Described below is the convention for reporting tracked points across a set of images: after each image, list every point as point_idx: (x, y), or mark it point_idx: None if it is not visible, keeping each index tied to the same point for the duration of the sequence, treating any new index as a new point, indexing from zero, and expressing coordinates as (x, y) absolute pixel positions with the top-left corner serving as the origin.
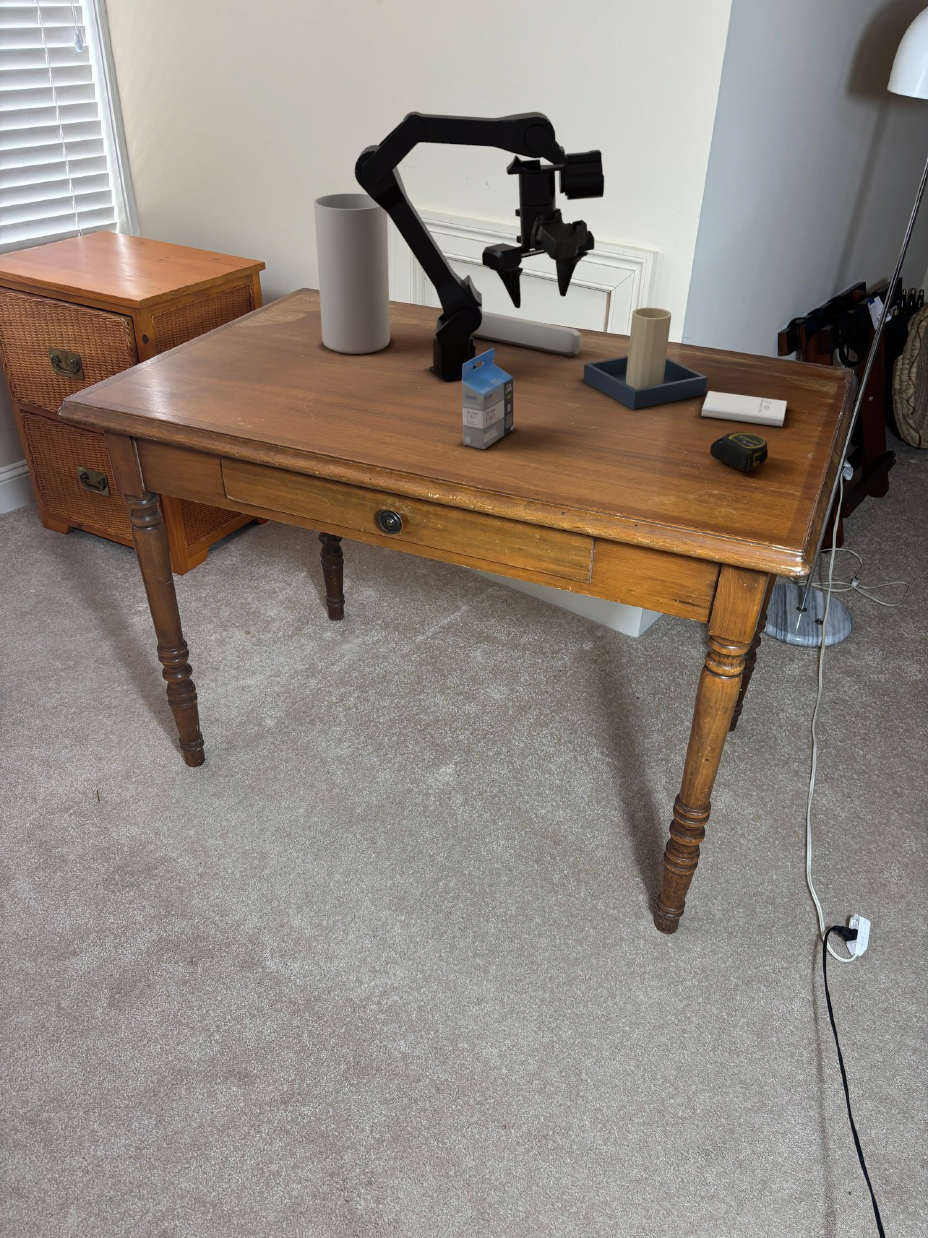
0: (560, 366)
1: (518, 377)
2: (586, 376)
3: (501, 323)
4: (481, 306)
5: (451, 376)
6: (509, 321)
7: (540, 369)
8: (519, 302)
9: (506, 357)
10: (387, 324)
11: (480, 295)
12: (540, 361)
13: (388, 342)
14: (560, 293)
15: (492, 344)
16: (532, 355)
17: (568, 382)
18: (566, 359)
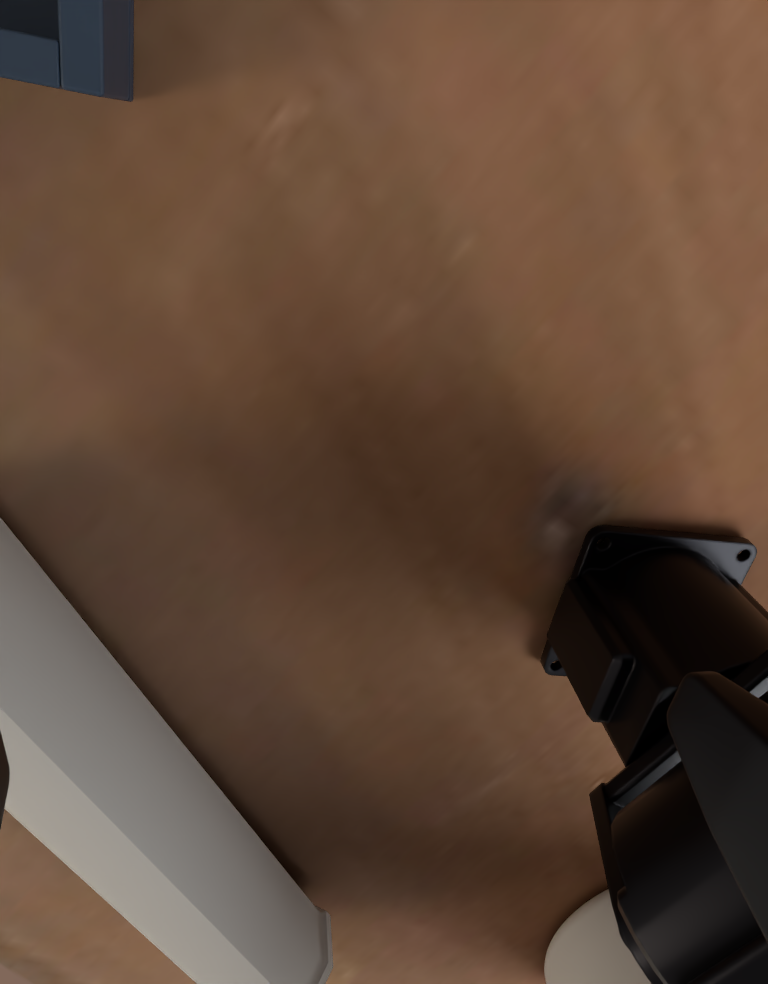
0: (116, 412)
1: (445, 404)
2: (125, 49)
3: (206, 870)
4: (716, 873)
5: (716, 555)
6: (172, 867)
7: (257, 436)
8: (758, 710)
9: (299, 649)
10: (639, 976)
11: (746, 979)
12: (177, 531)
13: (600, 903)
14: (3, 792)
15: (247, 789)
16: (162, 616)
17: (246, 147)
18: (11, 484)
